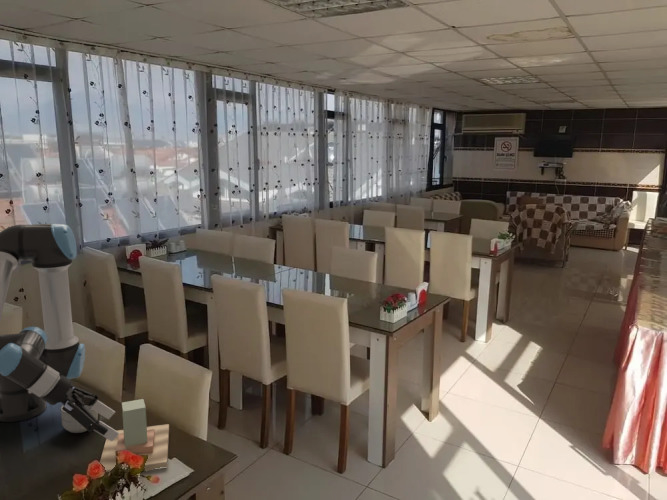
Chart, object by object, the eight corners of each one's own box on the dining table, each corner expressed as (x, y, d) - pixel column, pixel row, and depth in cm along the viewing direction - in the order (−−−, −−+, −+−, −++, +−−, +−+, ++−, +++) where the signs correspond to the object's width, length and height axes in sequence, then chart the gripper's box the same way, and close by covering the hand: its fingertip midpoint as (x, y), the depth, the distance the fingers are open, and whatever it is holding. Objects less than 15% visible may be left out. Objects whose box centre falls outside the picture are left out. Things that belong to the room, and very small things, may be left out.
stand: (108, 437, 160) (107, 425, 160) (169, 429, 165) (168, 418, 165) (97, 478, 140) (96, 465, 139) (167, 468, 144) (166, 455, 144)
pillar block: (123, 437, 153) (121, 402, 151) (145, 432, 156) (143, 398, 154) (125, 447, 148) (123, 411, 146) (147, 442, 150) (145, 407, 148)
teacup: (64, 423, 169) (62, 400, 167) (100, 417, 173) (98, 395, 172) (60, 444, 156) (58, 420, 155) (99, 437, 160) (97, 413, 159)
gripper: (42, 379, 149) (101, 417, 158) (37, 417, 127) (106, 458, 136) (61, 359, 151) (119, 397, 160) (60, 393, 129) (127, 435, 138)
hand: (113, 425), depth 148 cm, fingers open, 13 cm apart
